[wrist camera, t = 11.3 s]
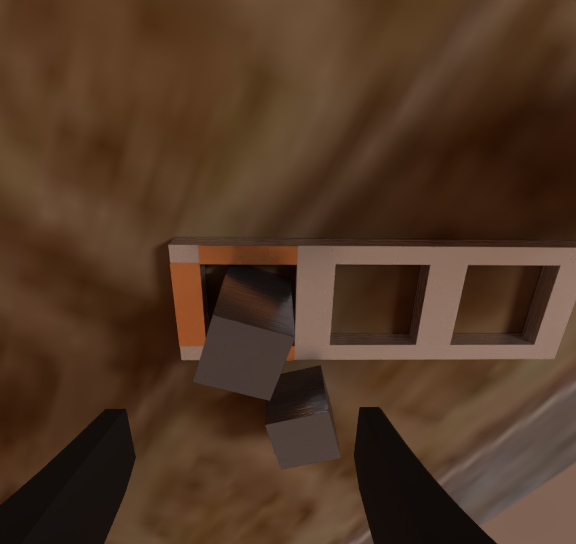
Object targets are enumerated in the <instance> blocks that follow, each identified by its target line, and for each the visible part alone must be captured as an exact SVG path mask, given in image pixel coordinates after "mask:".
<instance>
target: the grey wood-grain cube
mask: <svg viewBox="0 0 576 544" xmlns="http://www.w3.org/2000/svg"><path fill="white" fill-rule="evenodd" d="M265 426H266V429H267V432H268V435H269V437H270V440H271V443H272V446H273V448H274V451H275V454H276V457H277V460H278V462H279V465H280V468H281V470H282V469H287V468H292V467H297V466H302V465H307V464H312V463H317V462H322V461H327V460H332V459H337V458H341V455H340V450H339V445H338V439H337V434H336V429H335V423H334V418H333V413H332V407H331V403H330V400H329V396H328V392H327V388H326V384H325V380H324V377H323V373H322V369H321V365H320V366H316V367H311V368H306V369H302V370H297V371H293V372H288V373H284V374H280V377H279V379H278V382H277V384H276V387H275V389H274V392H273V394H272V397H271V399H270V401H269V400H266V413H265Z"/></svg>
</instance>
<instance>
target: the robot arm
mask: <svg viewBox="0 0 576 544" xmlns="http://www.w3.org/2000/svg"><path fill="white" fill-rule="evenodd" d="M135 458H136V456H135V452H134V447H133V442H132V437H131V432H130V427H129V422H128V417H127V412H126V409H105V410H104V411H103V412H102V413H101V414H100V415H99V416H98V417H97V418H96V419H95V420H94V421H93V422H92V423H90V424H89V425H88V426H87V427H86V428H85V429H84V430H83V431H82V432H81V433H80V434H79V435H78V436H77V437H76V438H75V439H74V440H73V441H72V442H71V443H70V444H69V445H68V446H66V447H65V448H64V449H63V450H62V451H61V452H60V453H59V454H58V455H57V456H56V457H55V458H54V459H53V460H51V461H50V462H49V463H48V464H47V465H46V466H45V467H44V468H43V469H42V470H41V471H39V472H38V473H37V474H36V475H35V476H34V477H33V478H32V479H30V480H29V481H28V482H27V483H26V484H25V485H23V486H22V487H21V488H20V489H19V490H18V491H17V492H15V493H14V494H13V495H12V496H11V497H10V498H8V499H7V500H6V501H5V502H4V503H2V504H1V505H0V544H104V542H105V540H106V538H107V535H108V533H109V531H110V528H111V526H112V524H113V521H114V519H115V516H116V514H117V512H118V509H119V507H120V504H121V502H122V500H123V497H124V495H125V492H126V489H127V486H128V482H129V479H130V476H131V472H132V469H133V465H134V462H135ZM354 459H355V465H356V472H357V478H358V484H359V490H360V494H361V497H362V501H363V505H364V509H365V513H366V516H367V520H368V524H369V527H370V531H371V535H372V539H373V542H374V544H497V543H496V542H495V541H494V540H493V539H491V538H490V537H489V536H488V535H487V534H486V533H485V532H484V531H483V530H482V529H481V528H480V527H479V526H478V525H477V524H476V523H475V522H474V521H473V520H472V519H471V518H470V517H469V516H468V515H467V514H466V513H465V512H464V511H463V510H462V509H461V508H460V507H459V506H458V505H457V503H456V502H455V501H454V500H453V499H452V498H451V497H450V496H449V495H448V494H447V493H446V491H445V490H444V489H443V488H442V487H441V486H440V485H439V483H438V482H437V481H436V480H435V479H434V478H433V477H432V475H431V474H430V473H429V472H428V471H427V469H426V468H425V467H424V466H423V464H422V463H421V462H420V461H419V459H418V458H417V457H416V456H415V454H414V453H413V452H412V451H411V449H410V448H409V447H408V445H407V444H406V443H405V442H404V440H403V439H402V437H401V436H400V435H399V433H398V432H397V431H396V429H395V428H394V427H393V425H392V424H391V422H390V421H389V419H388V418H387V417H386V415H385V414H384V412H383V411H382V410H381V409H380V408H379V407H360V408H359V416H358V425H357V433H356V442H355V450H354Z"/></svg>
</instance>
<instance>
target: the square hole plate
mask: <svg viewBox="0 0 576 544" xmlns="http://www.w3.org/2000/svg"><path fill="white" fill-rule="evenodd" d="M168 247H169V255H170V269H171V278H172V286H173V295H174V304H175V312H176V321H177V330H178V338H179V347H180V351H181V360H200V357H201V353H202V350H203V347H204V343H205V340H206V336H207V333H208V330H209V313H208V300H207V287H206V274H205V264H251V265H296V275H295V311H294V329H295V339H294V342H293V344H292V347H291V349H290V352H289V354H288V357H287V359H286V361H294V360H372V359H554V358H555V356H556V353H557V350H558V347H559V344H560V342H561V339H562V336H563V333H564V331H565V328H566V325H567V322H568V320H569V317H570V314H571V311H572V309H573V306H574V303H575V300H576V241H563V240H436V239H309V238H182V237H174V238H173V240H172V241H171V242H170V243H169V245H168ZM336 264H383V265H421V267H420V273H419V278H418V284H417V290H416V296H415V302H414V308H413V314H412V319H411V325H410V331H409V334H331V320H332V306H333V293H334V279H335V266H336ZM468 265H543V267H542V270H541V274H540V277H539V280H538V283H537V286H536V290H535V293H534V296H533V299H532V303H531V306H530V309H529V312H528V315H527V319H526V322H525V325H524V328H523V332H522V334H453V329H454V325H455V320H456V316H457V312H458V307H459V303H460V298H461V294H462V289H463V285H464V280H465V276H466V272H467V267H468Z"/></svg>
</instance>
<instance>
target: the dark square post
mask: <svg viewBox="0 0 576 544" xmlns="http://www.w3.org/2000/svg"><path fill="white" fill-rule="evenodd" d="M294 339H295V329H294V317H293V305H292V293H291V281H290V278H287V277H284V276H280V275H277V274H274V273H270V272H267V271H263V270H260V269H257V268H253V267H250V266H247V265H243V264H229V265H228V268H227V272H226V275H225V278H224V281H223V284H222V287H221V291H220V294H219V297H218V300H217V303H216V306H215V310H214V313H213V316H212V319H211V323H210V326H209V330H208V333H207V336H206V340H205V343H204V347H203V350H202V353H201V357H200V360H199V364H198V367H197V370H196V374H195V377H194V380H193V382H194V383H199V384H203V385H207V386H211V387H215V388H219V389H223V390H228V391H232V392H236V393H240V394H244V395H248V396H252V397H256V398H261V399H265V400H269V401H270V399H271V397H272V394H273V392H274V389H275V387H276V384H277V382H278V379H279V377H280V374H281V372H282V369H283V367H284V364H285V362H286V359H287V357H288V354H289V352H290V349H291V347H292V344H293V342H294Z"/></svg>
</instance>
